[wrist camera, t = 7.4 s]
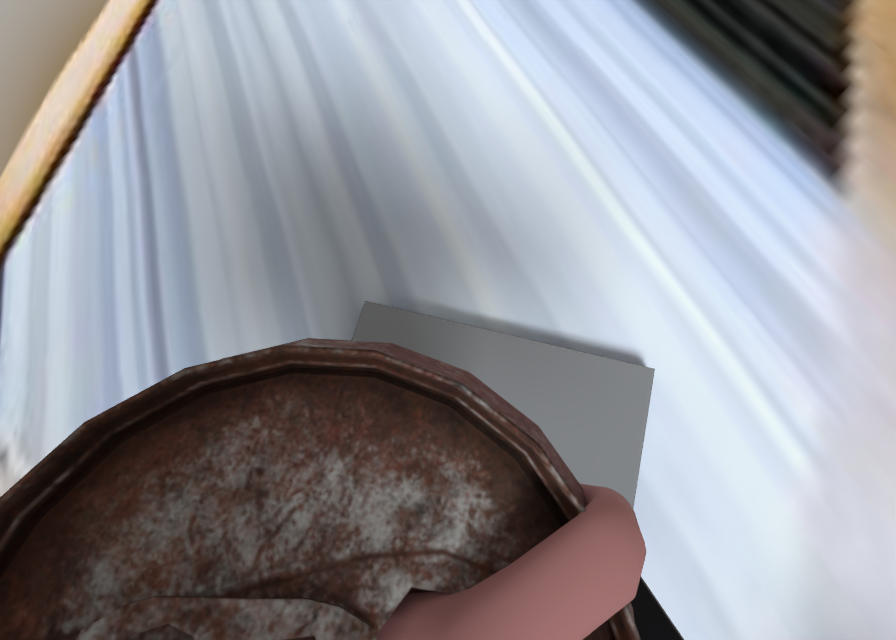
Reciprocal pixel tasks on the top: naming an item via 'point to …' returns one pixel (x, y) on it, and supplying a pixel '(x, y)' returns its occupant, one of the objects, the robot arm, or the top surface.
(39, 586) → the can
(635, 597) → the robot arm
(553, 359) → the plate
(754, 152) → the top surface
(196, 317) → the top surface
